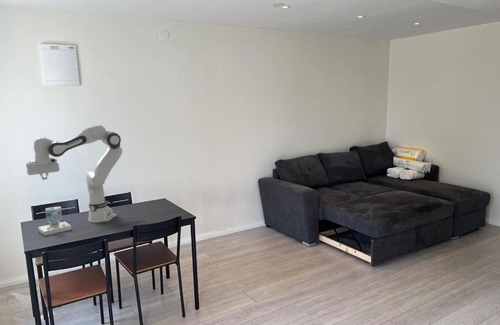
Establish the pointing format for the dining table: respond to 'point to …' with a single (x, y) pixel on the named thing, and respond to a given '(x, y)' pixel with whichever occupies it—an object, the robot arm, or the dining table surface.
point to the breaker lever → (54, 219)
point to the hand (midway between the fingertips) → (44, 179)
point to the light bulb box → (52, 210)
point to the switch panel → (54, 228)
